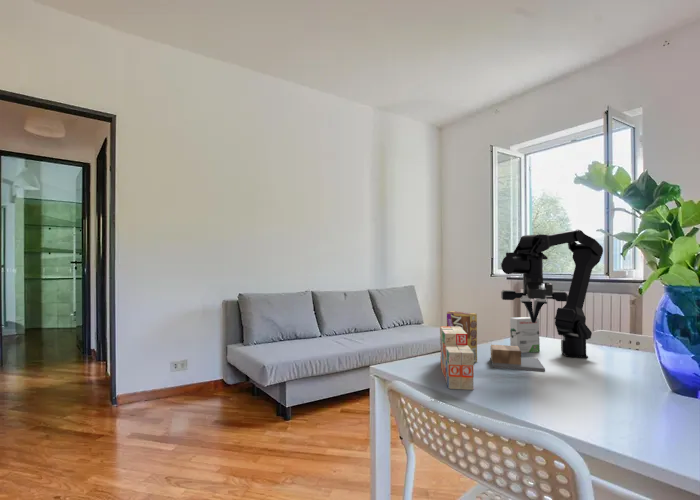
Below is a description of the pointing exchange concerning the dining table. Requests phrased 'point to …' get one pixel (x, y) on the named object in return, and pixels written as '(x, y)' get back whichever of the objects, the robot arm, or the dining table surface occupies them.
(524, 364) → the rubber mat
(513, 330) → the ink box
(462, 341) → the stack of blocks
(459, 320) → the candy box
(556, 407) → the dining table surface
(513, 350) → the cream panel wooden box
